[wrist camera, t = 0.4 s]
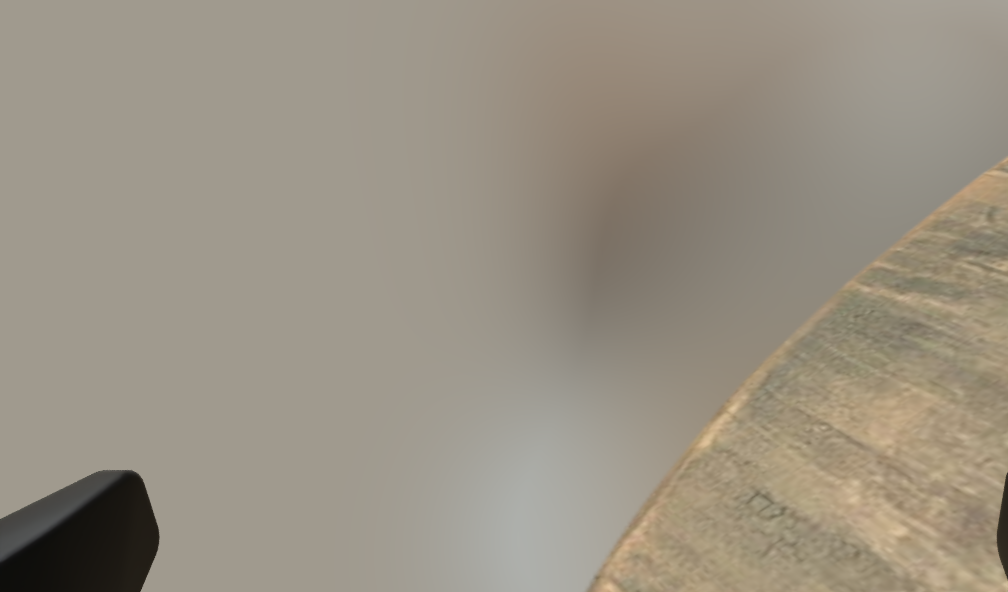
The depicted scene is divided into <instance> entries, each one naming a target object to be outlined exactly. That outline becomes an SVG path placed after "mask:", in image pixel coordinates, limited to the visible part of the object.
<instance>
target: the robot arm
mask: <svg viewBox="0 0 1008 592" xmlns="http://www.w3.org/2000/svg"><path fill="white" fill-rule="evenodd" d="M158 545H159V529H158V525H157V523H156V519H155V516H154V513H153V510H152V506H151V503H150V500H149V497H148V494H147V491H146V488H145V485H144V482H143V479H142V478H141V477H140V475H139V474H137V473H136V472H134V471H132V470H103V471H98V472H96V473H94V474H91V475H89V476H87V477H85V478H83V479H81V480H79V481H77V482H75V483H73V484H71V485H69V486H67V487H65V488H63V489H61V490H59V491H57V492H55V493H53V494H51V495H49V496H47V497H45V498H42V499H41V500H38V501H36V502H34V503H32V504H30V505H28V506H26V507H24V508H22V509H20V510H18V511H16V512H14V513H12V514H10V515H8V516H6V517H4V518H2V519H0V592H140V591H141V589H142V587H143V584H144V582H145V580H146V577H147V575H148V572H149V570H150V568H151V565H152V563H153V560H154V558H155V556H156V553H157V550H158ZM997 547H998V552H999V557H1000V560H1001V563H1002V565H1003V568H1004V571H1005V574H1006V576H1007V579H1008V473H1007V475H1006V479H1005V485H1004V492H1003V498H1002V504H1001V510H1000V517H999V523H998V529H997Z"/></svg>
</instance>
